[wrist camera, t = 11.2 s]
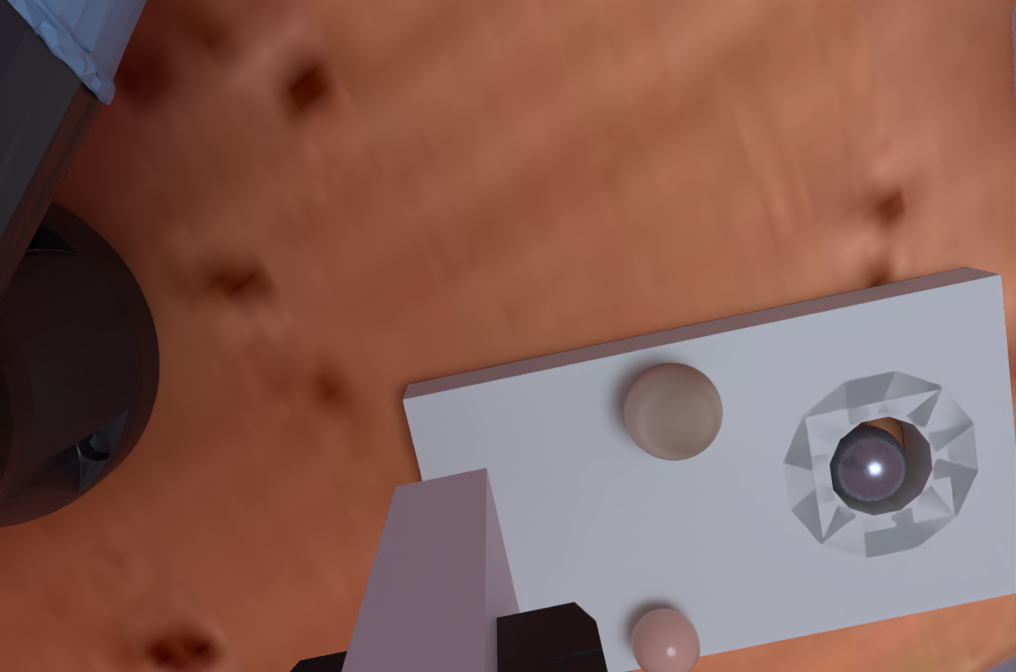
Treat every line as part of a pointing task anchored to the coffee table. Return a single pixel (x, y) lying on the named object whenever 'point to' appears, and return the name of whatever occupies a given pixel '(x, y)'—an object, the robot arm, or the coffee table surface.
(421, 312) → the coffee table surface
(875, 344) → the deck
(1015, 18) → the container
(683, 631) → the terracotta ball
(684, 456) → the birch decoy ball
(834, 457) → the steel ball
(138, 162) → the coffee table surface
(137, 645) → the coffee table surface
